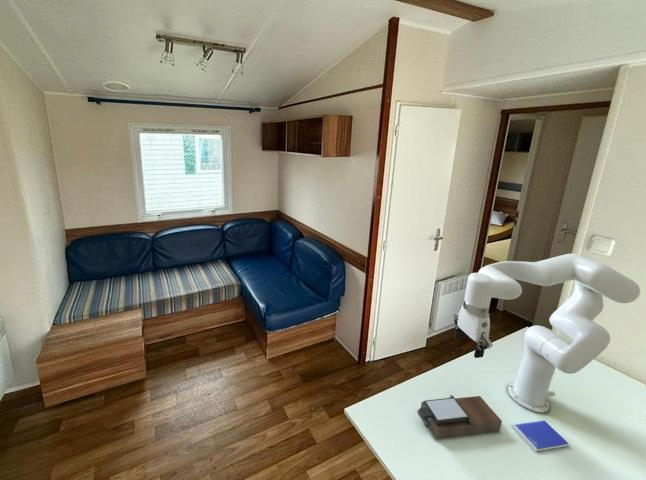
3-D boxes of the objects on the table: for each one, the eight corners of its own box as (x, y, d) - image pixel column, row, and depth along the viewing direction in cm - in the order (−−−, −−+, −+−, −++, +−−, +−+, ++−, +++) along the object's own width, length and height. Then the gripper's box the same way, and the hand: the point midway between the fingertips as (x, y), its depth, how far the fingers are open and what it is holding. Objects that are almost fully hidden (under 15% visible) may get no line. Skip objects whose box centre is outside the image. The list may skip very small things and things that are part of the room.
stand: (477, 405, 111) (480, 392, 110) (499, 432, 101) (503, 418, 100) (419, 411, 109) (421, 397, 107) (436, 440, 99) (439, 425, 97)
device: (414, 401, 105) (413, 410, 106) (428, 422, 98) (426, 432, 99) (453, 397, 107) (451, 406, 108) (469, 417, 99) (467, 427, 101)
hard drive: (537, 448, 95) (568, 443, 97) (514, 424, 103) (544, 419, 105) (536, 451, 95) (567, 446, 97) (513, 427, 103) (542, 423, 105)
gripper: (506, 321, 95) (496, 364, 99) (467, 293, 111) (460, 330, 116) (485, 323, 94) (477, 366, 98) (449, 294, 110) (443, 332, 115)
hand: (468, 347), depth 107 cm, fingers open, 9 cm apart
